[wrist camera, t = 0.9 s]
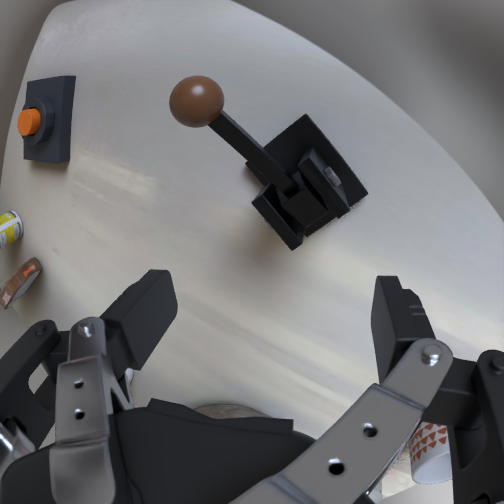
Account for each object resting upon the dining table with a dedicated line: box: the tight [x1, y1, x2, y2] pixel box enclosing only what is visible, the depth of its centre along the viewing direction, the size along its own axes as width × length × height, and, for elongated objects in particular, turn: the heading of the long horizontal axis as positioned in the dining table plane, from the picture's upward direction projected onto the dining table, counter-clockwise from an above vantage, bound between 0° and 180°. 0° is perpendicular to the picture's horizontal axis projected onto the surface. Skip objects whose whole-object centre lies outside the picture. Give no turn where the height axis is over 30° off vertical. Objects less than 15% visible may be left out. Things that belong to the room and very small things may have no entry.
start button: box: [18, 109, 41, 136], centre depth 29 cm, size 4×4×2 cm
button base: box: [22, 76, 76, 163], centre depth 32 cm, size 12×9×4 cm
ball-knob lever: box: [169, 76, 329, 228], centre depth 19 cm, size 13×3×3 cm, turn 41°
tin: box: [0, 257, 42, 309], centre depth 44 cm, size 15×3×8 cm, turn 125°
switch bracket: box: [245, 114, 368, 251], centre depth 25 cm, size 10×8×12 cm
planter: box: [409, 422, 452, 484], centre depth 34 cm, size 14×14×13 cm
